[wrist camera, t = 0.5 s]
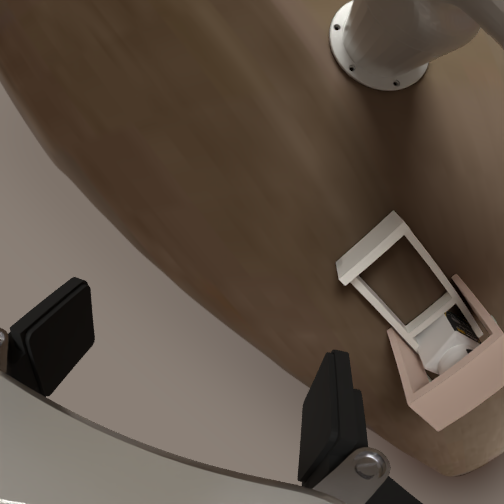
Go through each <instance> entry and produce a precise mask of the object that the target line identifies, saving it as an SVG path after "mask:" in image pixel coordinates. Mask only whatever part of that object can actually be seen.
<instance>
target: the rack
mask: <svg viewBox="0 0 504 504" xmlns="http://www.w3.org/2000/svg"><path fill="white" fill-rule="evenodd" d="M403 235H405V237H406V238H407V239H408V240H409V241H410V243H411V244H412V245H413V246H414V248H415V249H416V250H417V251H418V253H419V254H420V255H421V257H422V258H423V259H424V260H425V262H426V263H427V264H428V266H429V267H430V268H431V270H432V271H433V272H434V274H435V275H436V276H437V278H438V279H439V280H440V282H441V283H442V284H443V286H444V287H445V289H446V290H447V291H448V292H446V293H445V294H444V295H443V296H442V297H441V298H439V299H438V300H437V301H436V302H435V303H434V304H432V305H431V306H430V307H429V308H427V309H426V310H425V311H424V312H423V313H421V314H420V315H419V316H418V317H416V318H415V319H414V320H413V321H411V322H410V323H409V324H407V325H406V326H405V325H404V324H403V323H402V322H401V320H400V319H399V318H398V317H397V316H396V315H395V314H394V313H393V312H392V311H391V309H390V308H389V307H388V306H387V305H386V304H385V303H384V302H383V301H382V300H381V299H380V298H379V296H378V295H377V294H376V293H375V292H374V291H373V290H372V289H371V288H370V287H369V286H368V285H367V284H366V283H365V282H364V281H363V279H362V278H361V277H360V276H359V274H360V273H361V272H362V271H364V270H365V269H366V268H367V267H368V266H369V265H371V264H372V263H373V262H374V261H375V260H376V259H378V258H379V257H380V256H381V255H382V254H383V253H384V252H385V251H387V250H388V249H389V248H390V247H391V246H392V245H393V244H394V243H396V242H397V241H398V240H399V239H400V238H401V237H402V236H403ZM336 267H337V273H338V278H339V280H340V281H341V282H342V283H343V284H344V285H345V286H346V285H347V284H348V283H349V282H350V283H351V284H352V285H353V286H354V287H355V288H356V289H357V290H358V291H359V292H360V293H361V294H362V295H363V296H364V297H365V298H366V299H367V300H368V301H369V302H370V303H371V304H372V305H373V306H374V307H375V308H376V309H377V310H378V312H379V313H380V314H381V315H382V316H383V317H384V318H385V319H386V320H387V321H388V322H389V323H390V324H391V325H392V326H393V327H394V328H395V330H396V331H397V332H398V333H399V334H400V335H401V336H402V337H403V338H404V339H405V340H406V341H407V342H408V344H409V345H410V346H411V347H412V348H413V349H414V350H415V351H416V352H417V353H418V351H417V348H418V346H419V344H418V341H417V339H416V337H415V336H416V335H418V334H419V333H420V332H421V331H423V330H424V329H425V328H427V327H428V326H429V325H430V324H432V323H433V322H434V321H435V320H437V319H438V318H439V317H440V316H441V315H443V314H444V313H445V312H446V311H447V310H449V309H450V308H451V307H452V306H453V305H454V304H457V306H458V307H459V309H460V310H461V312H462V313H463V315H464V316H465V317H466V319H467V321H468V322H469V324H470V325H471V328H472V329H473V331H474V332H475V334H476V336H478V338H480V337H481V336H482V335H483V332H482V331H481V329H480V328H479V326H478V324H477V323H476V321H475V320H474V318H473V316H472V315H471V313H470V312H469V310H468V309H467V307H466V306H465V304H464V303H463V301H462V300H461V298H460V297H459V295H458V294H457V292H456V291H455V289H454V288H453V286H452V285H451V284H450V282H449V281H448V279H447V278H446V276H445V275H444V274H443V272H442V271H441V270H440V268H439V267H438V265H437V264H436V263H435V261H434V260H433V259H432V257H431V256H430V255H429V253H428V252H427V251H426V249H425V248H424V247H423V245H422V244H421V243H420V242H419V240H418V239H417V238H416V237H415V235H414V234H413V233H412V232H411V230H410V228H409V227H408V225H407V224H406V223H405V222H404V221H403V220H402V219H401V218H400V216H399V215H398V214H397V213H396V212H395V211H394V210H393V211H392V212H391V213H390V214H389V215H388V216H386V217H385V218H384V219H383V220H382V221H381V222H380V223H379V224H378V225H377V226H376V227H375V228H373V229H372V230H371V231H370V232H369V233H368V234H367V235H366V236H365V237H364V238H362V239H361V240H360V241H359V242H358V243H357V244H356V245H355V246H353V247H352V248H351V249H350V250H349V251H348V252H347V253H346V254H344V255H343V256H342V257H341V258H340V259H339V260H338V261H336ZM418 354H419V353H418Z"/></svg>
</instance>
